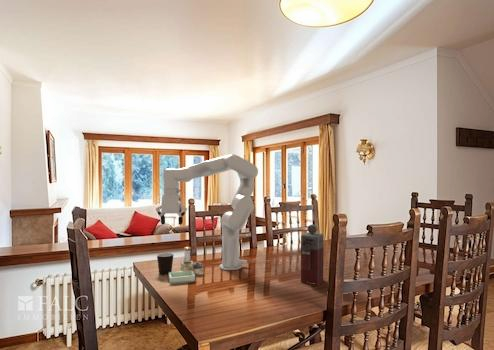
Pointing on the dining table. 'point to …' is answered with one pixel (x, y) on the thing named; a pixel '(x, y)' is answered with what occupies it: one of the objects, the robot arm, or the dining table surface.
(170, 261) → the coffee mug
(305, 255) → the dark red bottle
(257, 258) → the dining table surface
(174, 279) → the tray
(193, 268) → the pulley block
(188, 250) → the pin
